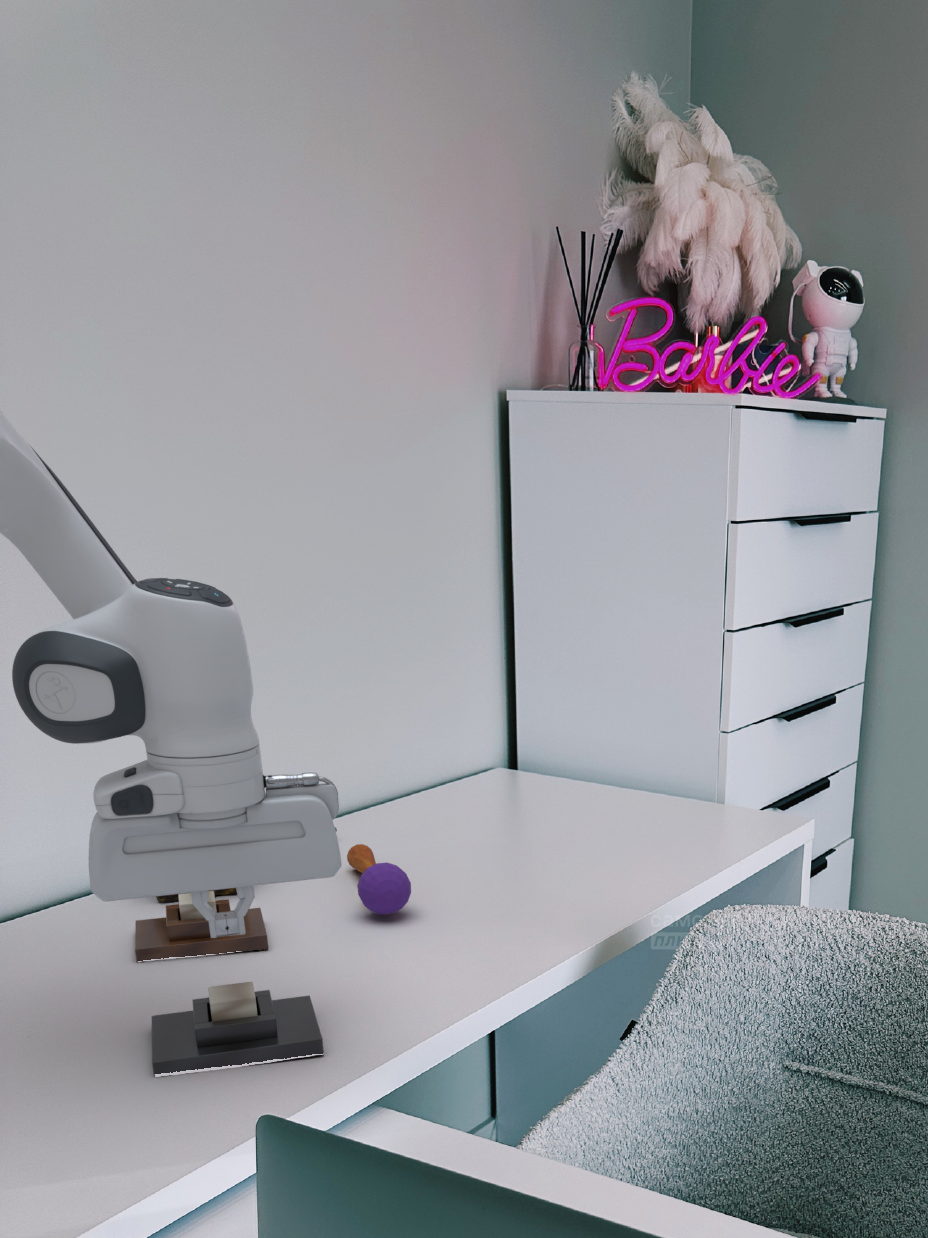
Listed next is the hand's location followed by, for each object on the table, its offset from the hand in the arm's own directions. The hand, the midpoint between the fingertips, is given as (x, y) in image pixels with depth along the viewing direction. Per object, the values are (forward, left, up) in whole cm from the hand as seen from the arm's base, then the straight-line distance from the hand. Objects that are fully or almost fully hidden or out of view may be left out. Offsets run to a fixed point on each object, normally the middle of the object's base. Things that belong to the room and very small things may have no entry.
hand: (228, 934), depth 110 cm
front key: (0, 0, -8) cm, 8 cm away
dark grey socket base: (0, 0, -11) cm, 11 cm away
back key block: (-2, +27, -11) cm, 29 cm away
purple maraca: (+18, +37, -11) cm, 42 cm away
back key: (-2, +27, -8) cm, 28 cm away
